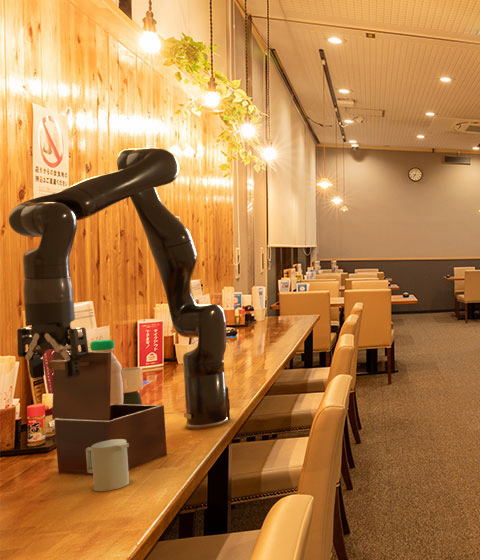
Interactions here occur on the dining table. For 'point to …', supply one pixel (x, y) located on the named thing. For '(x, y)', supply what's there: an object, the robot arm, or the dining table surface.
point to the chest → (112, 436)
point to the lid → (82, 388)
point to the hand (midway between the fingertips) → (54, 377)
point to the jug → (108, 464)
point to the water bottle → (116, 377)
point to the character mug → (132, 385)
